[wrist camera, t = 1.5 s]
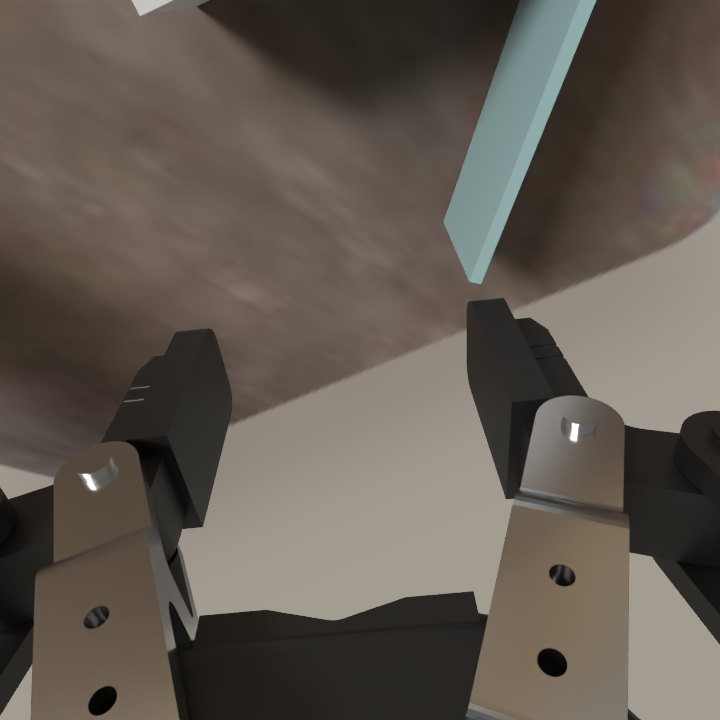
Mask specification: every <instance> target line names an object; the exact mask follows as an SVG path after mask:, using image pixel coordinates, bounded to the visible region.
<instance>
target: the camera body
mask: <svg viewBox="0 0 720 720" xmlns="http://www.w3.org/2000/svg"><path fill="white" fill-rule="evenodd" d="M132 1H133V3H134V5H135V7H136V9H137V11H138V13H139V15H140V16H145V15H151V14H157V13H162V12H168V11H174V10H180V9H186V8H192V7H197V6H199V5H201V4H203V3H205V2H207V1H209V0H132Z"/></svg>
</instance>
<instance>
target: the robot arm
mask: <svg viewBox="0 0 720 720" xmlns="http://www.w3.org/2000/svg"><path fill="white" fill-rule="evenodd" d="M467 372H468V380H469V385H470V389H471V392H472V395H473V398H474V402H475V405H476V408H477V411H478V414H479V417H480V420H481V423H482V426H483V429H484V433H485V435H486V439H487V442H488V445H489V448H490V451H491V454H492V457H493V460H494V463H495V467H496V470H497V473H498V476H499V479H500V482H501V485H502V488H503V491H504V494H505V498H506V499H514V501H513V506H512V510H511V514H510V519H509V524H508V528H507V533H506V537H505V543H504V547H503V551H502V556H501V560H500V565H499V569H498V574H497V578H496V583H495V588H494V592H493V597H492V602H491V606H490V611H489V615H486V614H480V613H478V610H477V605H476V601H475V596H474V592H462V593H450V594H439V595H427V596H416V597H405V598H403V599H399V600H397V601H394V602H391V603H388V604H385V605H382V606H379V607H376V608H373V609H370V610H367V611H365V612H361V613H359V614H356V615H353V616H350V617H347V618H344V619H340V620H334V621H331V620H323V619H317V618H311V617H305V616H299V615H293V614H287V613H281V612H275V611H269V610H261V611H249V612H239V613H228V614H215V615H204V616H200V617H199V621H198V617H197V612H196V608H195V604H194V600H193V596H192V592H191V588H190V583H189V579H188V575H187V571H186V567H185V563H184V559H183V555H182V552H181V550H180V547H179V545H178V542H179V538H180V535H181V531H182V529H186V528H196V527H203V524H204V520H205V516H206V512H207V508H208V504H209V500H210V495H211V492H212V488H213V484H214V479H215V476H216V472H217V468H218V464H219V460H220V456H221V452H222V448H223V444H224V440H225V436H226V432H227V428H228V424H229V420H230V416H231V411H232V394H231V388H230V384H229V380H228V377H227V374H226V370H225V367H224V363H223V360H222V356H221V353H220V349H219V346H218V343H217V339H216V336H215V334H214V332H213V331H212V329H200V330H191V331H181V332H176V333H175V334H174V336H173V338H172V340H171V343H170V345H169V347H168V349H167V351H166V353H165V355H164V356H155V357H154V358H153V359H151V360H150V361H149V362H148V363H147V364H146V365H145V366H144V367H142V368H141V369H140V370H139V371H138V373H137V375H136V377H135V378H134V380H133V382H132V384H131V386H130V390H128V392H127V394H126V396H125V398H124V403H122V404H121V406H120V407H119V409H118V411H117V413H116V415H115V417H114V419H113V421H112V423H111V425H110V427H109V429H108V431H107V433H106V435H105V436H104V438H103V440H102V442H101V443H100V444H97V445H94V446H91V447H88V448H86V449H84V450H82V451H80V452H79V453H77V454H76V455H74V456H73V457H71V458H70V459H69V460H68V461H67V462H66V463H65V464H63V466H62V467H61V468H60V469H59V471H58V472H57V474H56V476H55V479H54V485H51V486H48V487H46V488H43V489H39V490H36V491H33V492H30V493H27V494H24V495H21V496H18V497H14V498H11V499H8V498H7V497H6V495H5V494H4V492H3V491H2V489H1V488H0V715H1V713H2V712H3V710H4V709H5V707H6V705H7V703H8V702H9V700H10V699H11V697H12V696H13V694H14V692H15V691H16V689H17V688H18V686H19V684H20V683H21V681H22V679H23V678H24V676H25V675H26V673H27V671H28V670H29V668H30V667H31V665H32V695H31V720H640V719H639V718H638V717H637V716H636V715H635V714H633V713H632V712H631V711H630V710H629V709H628V625H629V621H628V619H629V552H631V553H637V554H642V555H647V556H652V557H653V559H654V560H655V562H656V563H657V564H658V566H659V567H660V568H661V569H662V571H663V572H664V573H665V575H666V576H667V577H668V578H669V580H670V581H671V582H672V583H673V585H674V586H675V587H676V589H677V590H678V591H679V593H680V594H681V595H682V596H683V598H684V599H685V600H686V601H687V603H688V604H689V605H690V607H691V608H692V609H693V610H694V612H695V613H696V614H697V616H698V617H699V618H700V620H701V621H702V622H703V623H704V625H705V626H706V627H707V629H708V630H709V631H710V632H711V634H712V635H713V636H714V638H715V639H716V640H717V641H718V643H719V644H720V411H705V412H700V413H696V414H693V415H692V416H690V417H688V418H687V419H686V420H685V421H684V423H683V424H682V427H681V430H680V434H679V433H671V432H663V431H654V430H645V429H639V428H634V427H630V426H626V425H624V422H623V420H622V418H621V416H620V415H619V414H618V413H617V412H616V411H615V410H614V409H613V408H611V407H610V406H608V405H607V404H605V403H603V402H601V401H598V400H596V399H592V398H589V397H588V396H587V394H586V393H585V391H584V389H583V387H582V386H581V385H580V382H579V381H578V379H577V377H576V376H575V374H574V373H573V371H572V369H571V367H570V366H569V365H568V362H567V361H566V359H564V358H563V354H562V352H561V351H560V349H559V348H558V347H556V342H555V341H554V339H553V337H552V336H551V335H550V333H549V331H548V329H546V328H545V327H543V326H542V325H540V324H539V323H537V322H536V321H534V320H533V319H531V318H523V319H514V317H513V315H512V313H511V311H510V309H509V307H508V305H507V303H506V301H505V300H504V298H497V299H488V300H478V301H469V302H468V305H467Z"/></svg>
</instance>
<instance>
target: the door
mask: <svg viewBox="0 0 720 720" xmlns="http://www.w3.org/2000/svg"><path fill="white" fill-rule="evenodd" d="M595 2H596V0H520V1H519V4H518V7H517V10H516V13H515V16H514V18H513V21H512V24H511V27H510V30H509V33H508V36H507V39H506V42H505V45H504V48H503V51H502V53H501V56H500V59H499V62H498V65H497V68H496V71H495V74H494V77H493V80H492V83H491V85H490V88H489V91H488V94H487V97H486V100H485V103H484V106H483V109H482V112H481V115H480V117H479V120H478V123H477V126H476V129H475V132H474V135H473V138H472V141H471V144H470V147H469V149H468V152H467V155H466V158H465V161H464V164H463V167H462V170H461V173H460V176H459V179H458V181H457V184H456V187H455V190H454V193H453V196H452V199H451V202H450V205H449V208H448V211H447V213H446V216H445V219H444V225H445V227H446V229H447V231H448V234H449V236H450V238H451V241H452V243H453V245H454V247H455V250H456V252H457V254H458V257H459V259H460V261H461V264H462V266H463V268H464V270H465V273H466V275H467V277H468V280H469V282H474V283H478V284H481V283H482V280H483V278H484V275H485V273H486V270H487V268H488V265H489V263H490V261H491V258H492V256H493V253H494V251H495V248H496V246H497V243H498V241H499V238H500V236H501V233H502V231H503V229H504V226H505V224H506V221H507V219H508V216H509V214H510V211H511V209H512V206H513V204H514V202H515V199H516V197H517V194H518V192H519V189H520V187H521V184H522V182H523V179H524V177H525V174H526V172H527V170H528V167H529V165H530V162H531V160H532V157H533V155H534V152H535V150H536V147H537V145H538V143H539V140H540V138H541V135H542V133H543V130H544V128H545V125H546V123H547V120H548V118H549V115H550V113H551V111H552V108H553V106H554V103H555V101H556V98H557V96H558V93H559V91H560V88H561V86H562V84H563V81H564V79H565V76H566V74H567V71H568V69H569V66H570V64H571V61H572V59H573V56H574V54H575V52H576V49H577V47H578V44H579V42H580V39H581V37H582V34H583V32H584V29H585V27H586V25H587V22H588V20H589V17H590V15H591V12H592V10H593V7H594V5H595Z"/></svg>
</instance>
